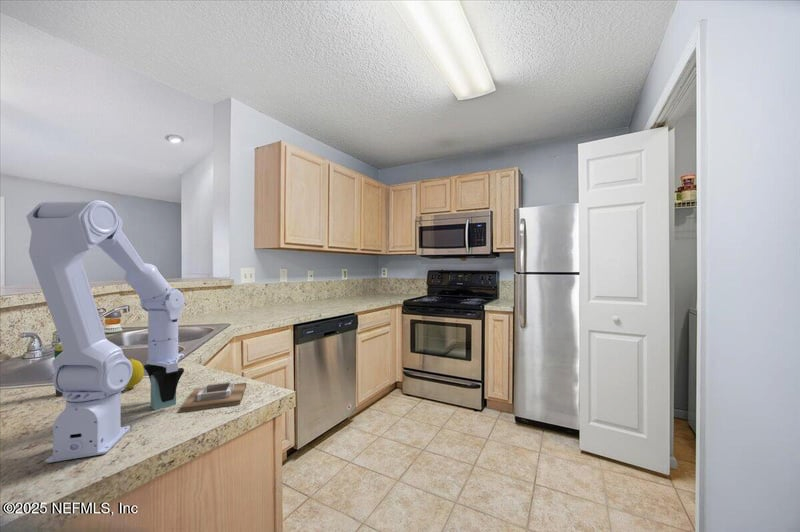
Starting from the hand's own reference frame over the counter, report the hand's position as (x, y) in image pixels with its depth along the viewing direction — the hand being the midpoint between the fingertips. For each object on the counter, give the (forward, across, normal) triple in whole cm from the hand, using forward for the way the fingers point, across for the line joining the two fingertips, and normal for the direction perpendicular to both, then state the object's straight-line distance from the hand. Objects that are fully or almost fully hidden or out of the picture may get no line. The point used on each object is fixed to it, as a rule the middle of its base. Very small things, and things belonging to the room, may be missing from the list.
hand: (163, 396), depth 74 cm
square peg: (+2, 0, 0) cm, 2 cm away
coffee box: (+2, +27, +12) cm, 29 cm away
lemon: (+2, +19, +3) cm, 19 cm away
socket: (+2, -6, -10) cm, 11 cm away
